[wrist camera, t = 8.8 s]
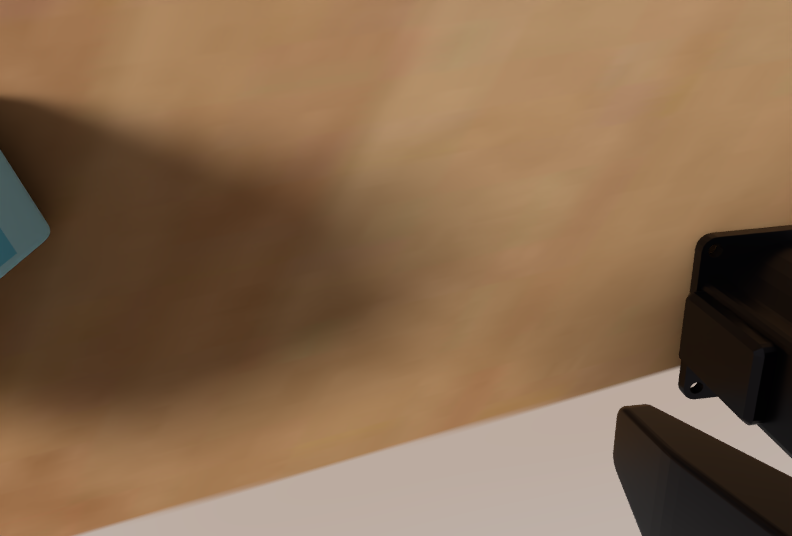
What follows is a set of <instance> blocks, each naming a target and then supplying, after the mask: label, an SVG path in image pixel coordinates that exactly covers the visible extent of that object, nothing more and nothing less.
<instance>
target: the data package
mask: <svg viewBox="0 0 792 536" xmlns="http://www.w3.org/2000/svg"><path fill="white" fill-rule="evenodd" d="M49 234H50V227H49V225H48V223H47V222H46V220H45V219H44V217H43V216H42V214H41V212H40V211H39V209H38V208H37V206H36V205H35V203H34V202H33V200H32V198H31V197H30V195H29V194H28V192H27V191H26V189H25V187H24V186H23V184H22V183H21V181H20V180H19V178H18V176H17V175H16V173H15V172H14V170H13V169H12V167H11V166H10V164H9V162H8V161H7V159H6V158H5V156H4V155H3V153H2V151H1V150H0V278H2V277H3V276H4V275H5V274H6V273H7V272H9V271H10V270H11V269H12V268H13V267H15V266H16V265H17V264H18V263H19V262H21V261H22V260H23V259H24V258H25V257H26V256H28V255H29V254H30V253H31V252H32V251H34V250H35V249H36V248H37V247H38V246H40V245H41V244H42V243H43V242H44V241H45V240H46V239H47V238H48V237H49Z"/></svg>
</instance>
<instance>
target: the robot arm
mask: <svg viewBox="0 0 792 536" xmlns="http://www.w3.org/2000/svg"><path fill="white" fill-rule="evenodd" d="M714 244H716V248H715V250H714V251H713V252H712V253H709V252H708V251H709V249H710V247H711V246H712V245H714ZM679 358H680V359H681V366H680V374H679V382H678V385H679V389H680V390H681V392H682V393H683V394H684V395H685V396H686V397H688V398H690V399H700V398H710V397H719V398H720V399H721V400H722V401H723V402H724V403H725V404H726V405H727V406H728V407H729V408H730V409H731V410H732V411H733V412H734V413H735V414H736V415H737V416H738V417H739V418H740V419H741V420H742V421H744V423H746V424H747V425H755V424H757V425H758V426H759V427H760V428H761V429H762V430H764V432H765V433H766V434H767V435H768V436H769V437H770V438H771V439H773V441H774V442H776V443H777V444H778V445H779V446H780V447H781V448H782V449H783V450H784V451H785V452H786V453H787V454H788V455H789V456H790V457H791V458H792V225H789V226H779V227H769V228H758V229H748V230H738V231H728V232H717V233H710V234H706V235H704V236H703V237H701V238H700V240H699V241H698V242H697V245H696V248H695V255H694V263H693V271H692V279H691V287H690V293H689V295H688V297H687V298H686V303H685V311H684V319H683V327H682V335H681V343H680V351H679ZM696 382H697V384H696V385H695V386H694V387H691V385H692V384H693V383H696ZM690 387H691V388H690ZM613 459H614V465H615V469H616V472H617V474H618V477H619V479H620V482H621V484H622V487H623V489H624V492H625V494H626V497H627V499H628V502H629V504H630V507H631V509H632V512H633V514H634V517H635V519H636V522H637V525H638V527H639V529H640V532H641V534H642V536H792V477H791V476H789V475H787V474H785V473H783V472H781V471H779V470H777V469H775V468H773V467H771V466H769V465H767V464H765V463H763V462H761V461H759V460H757V459H755V458H753V457H751V456H749V455H747V454H745V453H743V452H741V451H739V450H738V449H735V448H733V447H731V446H730V445H727V444H726V443H724V442H721V441H719V440H718V439H716V438H714V437H712V436H710V435H708V434H706V433H704V432H702V431H700V430H698V429H696V428H694V427H692V426H690V425H688V424H686V423H684V422H683V421H681V420H679V419H677V418H674V417H673V416H671V415H669V414H667V413H665V412H663V411H661V410H659V409H657V408H655V407H653V406H651V405H647V404H643V405H632V406H624V407H622V408H621V409H620V410H619V412H618V414H617V421H616V430H615V440H614V450H613Z"/></svg>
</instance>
